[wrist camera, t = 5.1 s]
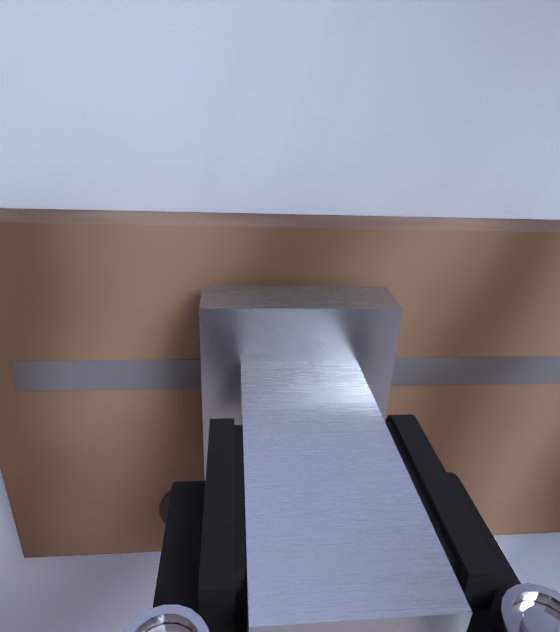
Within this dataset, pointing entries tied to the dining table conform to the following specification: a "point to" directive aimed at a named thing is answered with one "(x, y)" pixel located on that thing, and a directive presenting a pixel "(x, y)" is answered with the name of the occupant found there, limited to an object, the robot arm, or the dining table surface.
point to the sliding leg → (323, 462)
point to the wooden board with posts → (185, 359)
